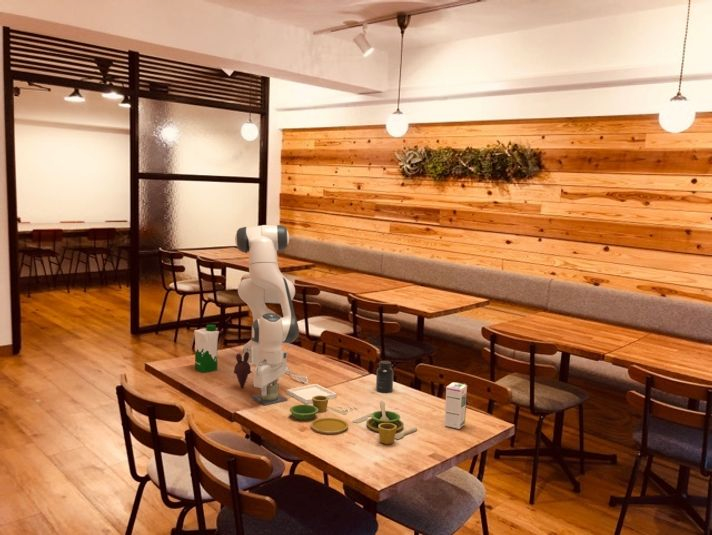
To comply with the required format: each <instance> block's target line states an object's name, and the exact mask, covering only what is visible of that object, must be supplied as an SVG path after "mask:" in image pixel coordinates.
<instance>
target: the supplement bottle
mask: <svg viewBox="0 0 712 535" xmlns="http://www.w3.org/2000/svg"><path fill="white" fill-rule="evenodd" d="M378 365H379V367H378V368H377V369H376V378H375V381H376V382H375V383H376V384H375V389H376V391H377V392H379V393H382V394H390V393H392V392H393V390H394V389H393V388H394V369H393V368H392V362H391V361H389V360H380V361H379V364H378Z"/></svg>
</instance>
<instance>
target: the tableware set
mask: <svg viewBox="0 0 712 535" xmlns="http://www.w3.org/2000/svg"><path fill="white" fill-rule="evenodd" d="M328 399H329V398H328V397H327V396H322V395H318V396H314V397H313V398H312V401H313V403H312V404H307V405H306V404H297V405H293V406H291V407H290V408H289V412H290V413H291V414H292V416H293V418H294V419H295V420H298V421H310V420H312V419H314V417H315V415H316V414H317V413H325V412H326V411H327V409H329V410H330V411H333V412H336V413H338V414H339V415H345V416H346V415H347V414H348V413H349V412H348V410H347V409H349V408H350V407H349V408H345V409H346V410H345V411H344V410H342V408H343V407H339V406H336V408H337V409H336V408H335V407H334V408H333V407H330V406H328V403H329V400H330V399H329V400H328ZM343 404H344V405H347V406H349V405H348V404H345V403H343ZM352 406H353V407H354V405H352ZM379 406H380V410H377V411H374V412H371V413H368V414H366V415H364V416H361V417H359V418H356V419H354V420H352V423H354V424H360V423H362V422H365V421H366V425H367V427H368V428H369V429H370V430H372V431H374V432H376V433H378V436H379V442H380V443H381V444H384V445H385V444H386V445H391V444H393V443H394V442H395V440H400V439H403V438H404V436H407V435H409V434H411V433H414V432H415V433H416V432H417V431H418V428H417V427H415V426H414V427H411V428H409V429H407V430H405V431H402V432H399V431H401V429H403V427H404V422H403V421H401V420H400V419H401V416H400V415H401V414H399V413H397V412H394V411H392V410H391V411H390V410H386V403H385V402H384V401H379ZM355 407H356V406H355ZM355 407H354V409H355V410H353V409H352V408H350V409H349V410H350V412H353V411H358V410H359V409H357V408H355ZM368 418H369V419H368ZM310 426H311V428H312V429H313V430H314V431H315V432H317V433H320V434H324V435H336V434H340V433H343V432H345V430H346V431H347V429H348V428H349V424H348V422H347V421H345V420H343V419H341V418H337V417H323V418H322V417H320V418H316V419H315V420H312V421H311V422H310ZM397 432H398V433H397Z"/></svg>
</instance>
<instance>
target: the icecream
mask: <svg viewBox="0 0 712 535" xmlns="http://www.w3.org/2000/svg"><path fill="white" fill-rule="evenodd" d="M241 354H242V353H239V352H238V353H237V354H236V355H235V359H236V362H237V363H235V364H234V365H235V366H234V368H233V370H234V371H233V373H234V374H235V375H236V377H237V381H238V383H239V387H240V389H244V387H245V385H246V382H247V379H248V376H249V375H250V374H251V373H252V371H251V365H249V363H248V362H247V361H248V358H249V353H248V352H246V353H245V354H244V361H242V356H241Z"/></svg>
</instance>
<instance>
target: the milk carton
mask: <svg viewBox="0 0 712 535" xmlns="http://www.w3.org/2000/svg"><path fill="white" fill-rule="evenodd" d="M216 326H217V325H216V324H212V323H211V324H206V327H205V328H199V329H195V330H194V332H193V333H194V342H195V344H194V370H196V371H198V372H199V373H201V374H205V373H210V372H214V371H215V372H216V371H218V339H219V334H220V331H219V330H217V328H216Z"/></svg>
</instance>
